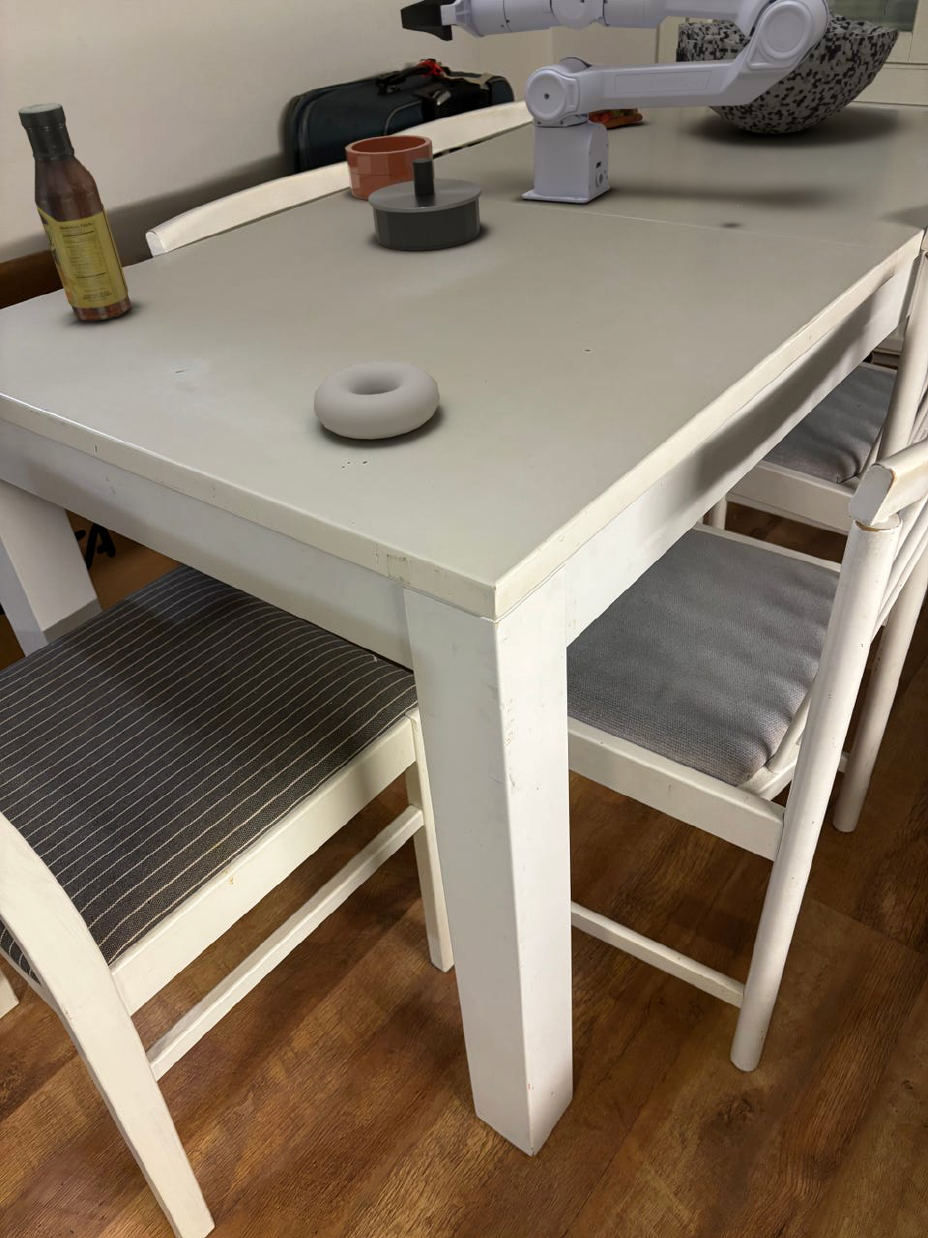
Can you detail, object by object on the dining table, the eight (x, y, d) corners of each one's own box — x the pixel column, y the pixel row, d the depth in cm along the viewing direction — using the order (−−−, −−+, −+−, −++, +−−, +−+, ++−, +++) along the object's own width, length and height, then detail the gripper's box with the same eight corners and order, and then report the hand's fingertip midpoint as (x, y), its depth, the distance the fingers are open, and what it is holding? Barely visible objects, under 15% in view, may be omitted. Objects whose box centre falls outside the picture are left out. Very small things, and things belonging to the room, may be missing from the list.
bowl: (779, 162, 134) (794, 38, 125) (634, 134, 156) (637, 27, 147) (925, 125, 146) (949, 10, 137) (771, 104, 168) (783, 3, 159)
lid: (502, 192, 116) (500, 150, 113) (442, 222, 107) (438, 177, 104) (410, 185, 122) (407, 144, 119) (346, 212, 113) (341, 170, 110)
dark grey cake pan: (498, 225, 118) (496, 187, 116) (443, 254, 110) (440, 214, 107) (414, 217, 124) (411, 181, 121) (357, 244, 116) (351, 206, 113)
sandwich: (531, 127, 165) (530, 74, 160) (579, 114, 171) (579, 63, 167) (604, 136, 155) (605, 80, 150) (651, 122, 161) (654, 68, 157)
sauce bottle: (85, 304, 104) (22, 101, 92) (141, 301, 104) (84, 96, 92) (63, 326, 99) (-6, 113, 87) (122, 323, 99) (60, 109, 87)
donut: (351, 389, 81) (294, 439, 74) (345, 350, 79) (286, 397, 72) (459, 399, 78) (411, 453, 71) (457, 359, 76) (406, 409, 69)
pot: (450, 182, 138) (447, 136, 135) (403, 203, 130) (398, 155, 127) (383, 177, 144) (378, 133, 140) (334, 197, 136) (328, 151, 132)
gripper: (533, -37, 120) (438, -25, 126) (485, -31, 110) (384, -18, 116) (536, 28, 124) (444, 37, 130) (490, 40, 114) (393, 49, 120)
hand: (416, 15), depth 123 cm, fingers open, 7 cm apart
